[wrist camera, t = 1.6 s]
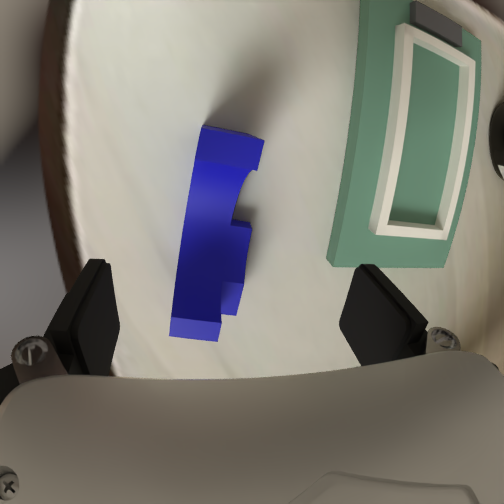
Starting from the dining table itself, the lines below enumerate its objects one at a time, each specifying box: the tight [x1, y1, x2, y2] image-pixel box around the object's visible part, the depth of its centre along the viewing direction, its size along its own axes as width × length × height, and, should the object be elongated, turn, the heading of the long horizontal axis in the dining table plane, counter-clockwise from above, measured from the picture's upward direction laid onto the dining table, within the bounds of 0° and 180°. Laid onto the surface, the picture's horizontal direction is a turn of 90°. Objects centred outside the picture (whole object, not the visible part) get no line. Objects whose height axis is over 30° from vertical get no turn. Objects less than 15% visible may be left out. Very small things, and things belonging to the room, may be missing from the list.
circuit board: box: [326, 0, 481, 268], centre depth 19 cm, size 22×12×3 cm, turn 174°
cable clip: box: [169, 125, 264, 342], centre depth 19 cm, size 12×4×6 cm, turn 167°
